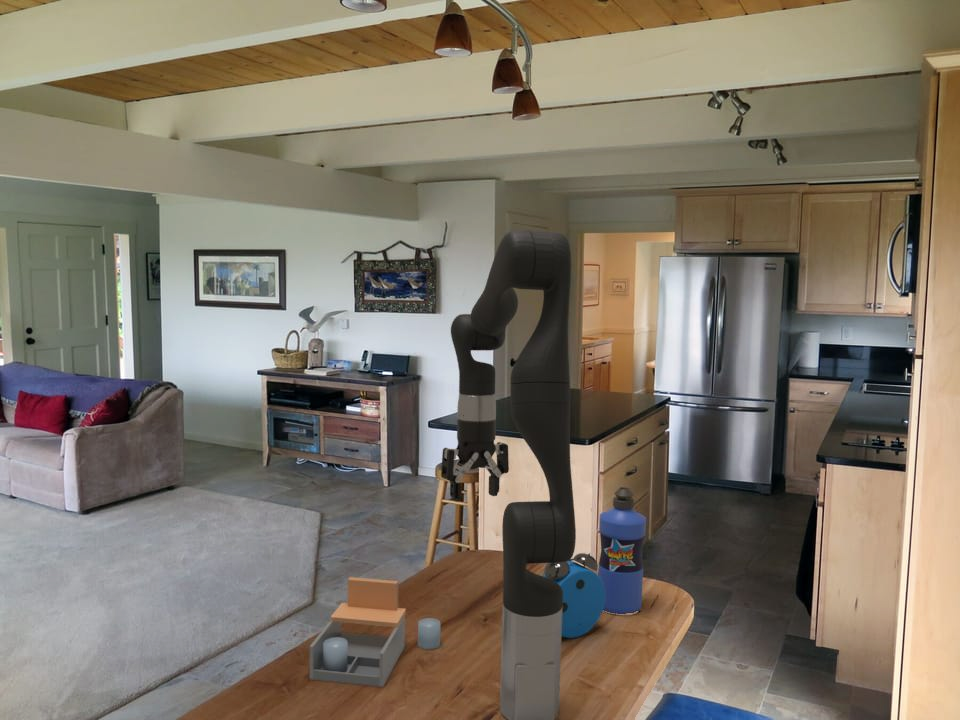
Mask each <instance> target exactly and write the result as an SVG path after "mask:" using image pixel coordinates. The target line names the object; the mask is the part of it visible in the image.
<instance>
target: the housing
mask: <svg viewBox="0 0 960 720" xmlns="http://www.w3.org/2000/svg"><path fill="white" fill-rule="evenodd" d="M405 628H406V617H405V616H404V617H403V619H402V621H401V622H400V624H399V626H398V627H397V628H396V627H393V630H392V631H391V633H390V636H384V635H383V636H382V635H373V634H372V635H371V634H360V633H350V632H342V622H332V621H331V619H330V620H329V621H328V623H327V624H325V626H324V627H323V629H322V630H321V631H320V633H319V634H318V635H317V636H316V638H315V639H314V640H313V642H312V643H311V644H310V645H309V680H310V681H311V680H312V681H321V682H332V683H339V684H340V683H342V684H348V685H349V684H352V685H358V686H361V685H362V686H370V687H379V688H384V686H385V684H386V683H387V681H388V679H389V676H390V674H391V673H392V671H393V669H394V667H395V665H396V664H397V661H398V660H399V658H400V656H401V654H402V653H403V650H404V649H405V647H406V646H405V642H406V641H405V640H406V639H405V637H406V633H405V631H406V630H405ZM334 637H340V638H344V639H346V640H347V641H348V670H347V671H346V672H337V671H327V670H323V642H324V641H325V640H327V639H329V638H334Z"/></svg>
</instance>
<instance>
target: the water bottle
mask: <svg viewBox="0 0 960 720" xmlns="http://www.w3.org/2000/svg"><path fill="white" fill-rule="evenodd" d="M614 495H615V496H613V498H612V499H613V500H612V506H613V507H612V508H611V509H608V510H606V511H603V512H601V513H600V514H599V524H598V531H599V537H600V556H599V561H598V568H597V571H598V572H597V573H598V574H597V575H598V576H599V577H600V578H601V580H602V582H603V585H604V588H605V604H604V608H603V610H604V611H607V612H610V613H615V614H616V613H617V614H626V613H634V612H636V611H639V610H640V609H641V610H642V601H643V599H642V598H643V582H644V581H643V578H644V565H643V556H642V555H643V554H642V553H643V547H644V543H645V542H644V541H645V536H646V532H647V531H646V530H647V518H646V516H645V515H644V514H641V513H639V512H637V511H636V510H635V509H634V508H635V499H634V498H633V496H634V493H633V491H631V489H630V488H629V487H626V486H621V487H619V488H618V489H617V490H615V492H614Z"/></svg>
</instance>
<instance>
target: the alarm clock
mask: <svg viewBox="0 0 960 720" xmlns="http://www.w3.org/2000/svg"><path fill="white" fill-rule="evenodd" d="M545 564H546V565H545V566H544V568H543V574H541V576H543V577H546V578H549V579H551V580H553V581H555V582H556V583H558V584H559V585H560V587H561V588H562V591H563V611H562V637H564V638H569V639H574V638H577V637H580V636H581V637H582V636H583V635H585V634H587V633H588V632H589V631H591V629H593V628H594V626H595V625H596V623H597V622H598V621H599V619H600V618H601V615H602V613H603V608H604V604H605V588H604V585H603V582H602V580H601V578H600V577H599V576H598V574H597V573H596V572H597V571H598V568H599V563H598V562H597V560H596V559H595V558H594V557H593V556H592V555H591V553H590V552H589V553H588V554H587V553H586V552H581V553H577V554H576V555H573V557H572V558H571V559H570V560H569V561H567V562H559V563H545Z"/></svg>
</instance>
